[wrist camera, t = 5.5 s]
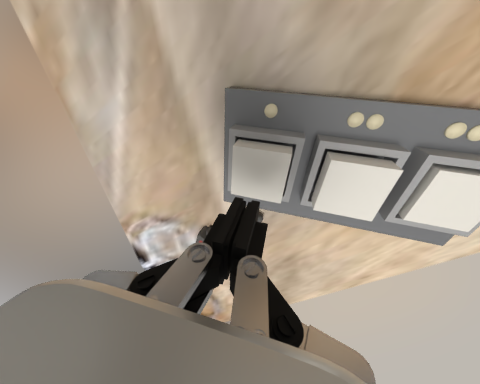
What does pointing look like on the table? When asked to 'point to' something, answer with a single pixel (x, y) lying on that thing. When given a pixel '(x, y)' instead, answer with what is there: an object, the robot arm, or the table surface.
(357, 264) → the table surface
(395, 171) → the button
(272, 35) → the table surface
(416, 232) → the button panel
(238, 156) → the button
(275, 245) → the table surface
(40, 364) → the robot arm
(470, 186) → the button
